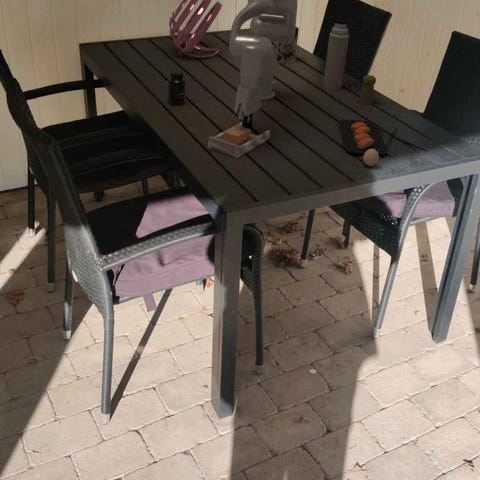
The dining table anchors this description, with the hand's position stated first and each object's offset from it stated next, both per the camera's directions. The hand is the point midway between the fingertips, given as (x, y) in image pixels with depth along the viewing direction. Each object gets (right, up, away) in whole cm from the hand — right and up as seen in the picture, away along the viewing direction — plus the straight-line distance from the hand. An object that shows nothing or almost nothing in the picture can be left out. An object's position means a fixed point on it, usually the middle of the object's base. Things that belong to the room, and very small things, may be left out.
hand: (246, 131), depth 232 cm
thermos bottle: (+37, +28, +53) cm, 70 cm away
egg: (+41, -13, -10) cm, 44 cm away
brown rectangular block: (-4, -4, -3) cm, 6 cm away
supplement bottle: (-27, +16, +27) cm, 42 cm away
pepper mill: (+49, +18, +39) cm, 65 cm away
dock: (-2, -4, -1) cm, 5 cm away
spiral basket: (-24, +49, +80) cm, 97 cm away
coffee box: (+18, +45, +78) cm, 92 cm away
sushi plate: (+49, -3, +8) cm, 50 cm away
